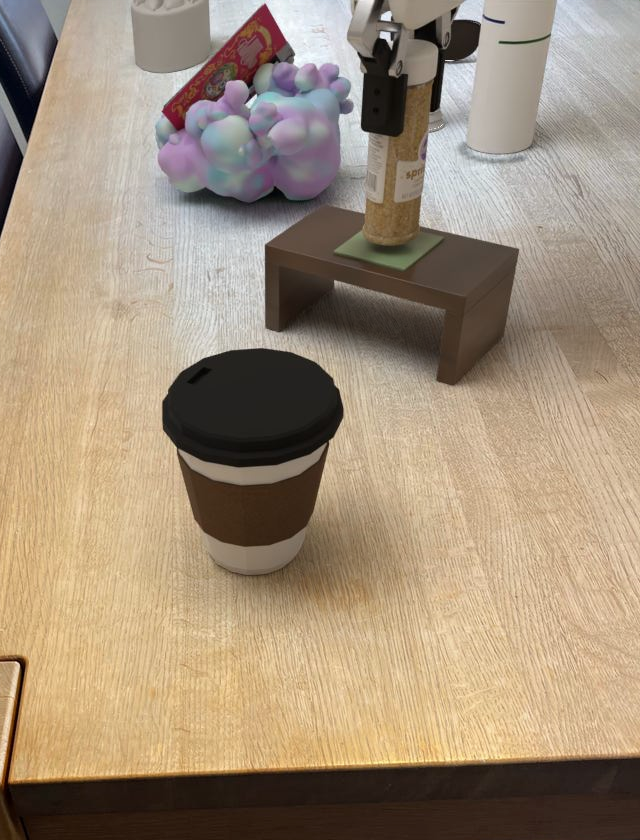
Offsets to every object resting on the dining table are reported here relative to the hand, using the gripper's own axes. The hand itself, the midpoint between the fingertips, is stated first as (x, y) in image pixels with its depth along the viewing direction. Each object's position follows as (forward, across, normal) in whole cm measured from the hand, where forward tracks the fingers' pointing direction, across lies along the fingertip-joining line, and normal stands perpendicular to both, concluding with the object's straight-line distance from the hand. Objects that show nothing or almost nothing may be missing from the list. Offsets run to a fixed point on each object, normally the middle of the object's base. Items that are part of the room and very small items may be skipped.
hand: (400, 117), depth 74 cm
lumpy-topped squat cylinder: (+17, +52, +64) cm, 84 cm away
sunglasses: (+17, +72, +31) cm, 80 cm away
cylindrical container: (+17, +43, +10) cm, 47 cm away
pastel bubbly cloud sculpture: (+17, +20, +28) cm, 39 cm away
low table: (+17, 0, 0) cm, 17 cm away
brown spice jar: (+9, 0, 0) cm, 9 cm away
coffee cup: (+17, -29, -7) cm, 35 cm away
